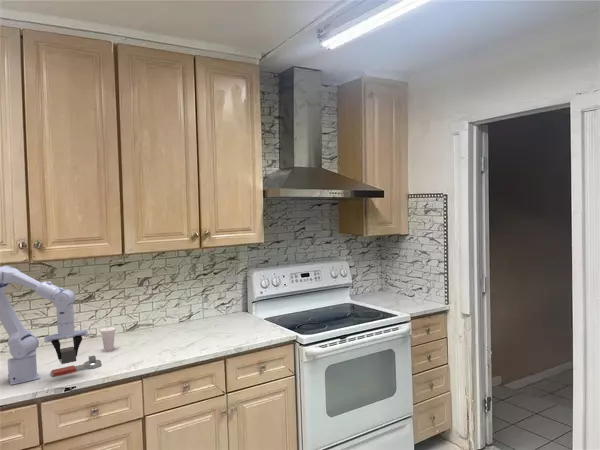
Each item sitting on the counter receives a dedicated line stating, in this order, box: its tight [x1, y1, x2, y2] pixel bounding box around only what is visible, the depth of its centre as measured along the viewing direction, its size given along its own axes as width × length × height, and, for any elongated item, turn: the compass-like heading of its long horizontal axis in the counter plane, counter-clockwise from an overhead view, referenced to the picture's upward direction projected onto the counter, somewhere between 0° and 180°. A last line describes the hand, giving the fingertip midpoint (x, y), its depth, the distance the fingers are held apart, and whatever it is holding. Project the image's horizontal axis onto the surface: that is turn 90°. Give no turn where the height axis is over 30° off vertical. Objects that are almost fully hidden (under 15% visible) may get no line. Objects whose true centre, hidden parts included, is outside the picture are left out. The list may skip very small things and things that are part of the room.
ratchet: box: [50, 355, 103, 378], centre depth 185 cm, size 18×6×4 cm, turn 127°
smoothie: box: [100, 319, 116, 353], centre depth 208 cm, size 6×6×14 cm
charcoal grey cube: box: [58, 346, 77, 365], centre depth 177 cm, size 5×5×4 cm
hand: (67, 357), depth 177 cm, fingers closed on charcoal grey cube, 5 cm apart
